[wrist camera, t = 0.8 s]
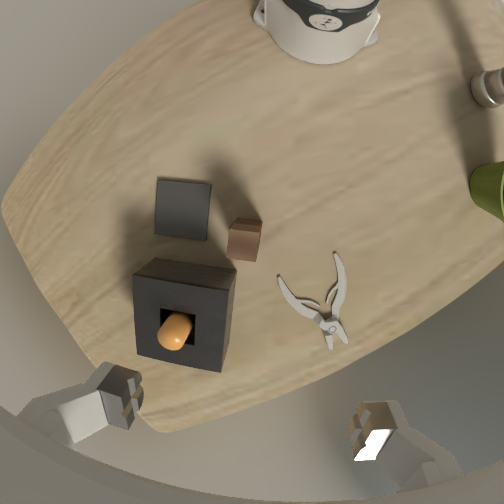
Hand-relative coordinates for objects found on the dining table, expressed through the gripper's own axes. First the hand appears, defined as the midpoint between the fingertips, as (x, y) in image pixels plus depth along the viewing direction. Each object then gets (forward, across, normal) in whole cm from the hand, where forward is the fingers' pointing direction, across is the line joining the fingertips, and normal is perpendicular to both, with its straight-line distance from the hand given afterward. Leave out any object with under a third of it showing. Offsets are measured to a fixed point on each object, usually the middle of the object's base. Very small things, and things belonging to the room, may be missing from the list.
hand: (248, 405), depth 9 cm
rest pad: (+33, +13, -2) cm, 36 cm away
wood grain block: (+33, +3, 0) cm, 33 cm away
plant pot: (+33, -35, -13) cm, 50 cm away
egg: (+28, +10, +13) cm, 33 cm away
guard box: (+33, +10, +13) cm, 37 cm away
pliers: (+34, -10, +11) cm, 37 cm away
